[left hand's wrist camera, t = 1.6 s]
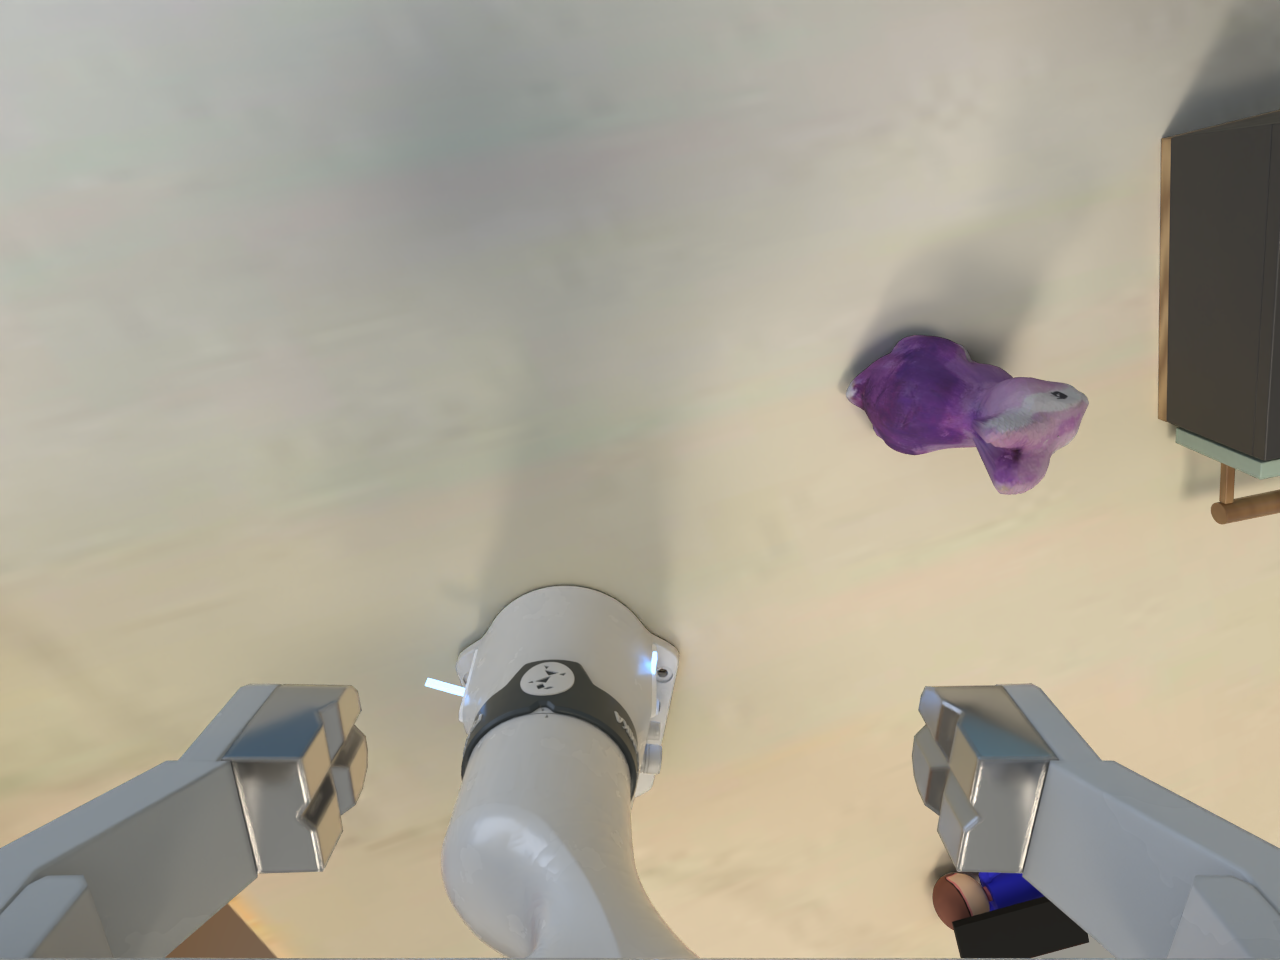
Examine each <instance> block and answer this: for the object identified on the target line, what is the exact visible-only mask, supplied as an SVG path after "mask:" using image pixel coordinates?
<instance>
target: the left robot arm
mask: <svg viewBox="0 0 1280 960" xmlns="http://www.w3.org/2000/svg"><path fill="white" fill-rule="evenodd" d="M678 665H679V653H678V651H677V649H676V648H675V647H674V646H673V645H671V644H670V643H668V642H666V641H665V640H663V639H661V638H659V637H657V636H655V635H653V634H651V633H650V632H649V631H648V630H647V629H646V628H645V627H644V626H643V624H642V623H641V622H640V621H639V619H638V618H637V617H636V616H635V615H634V614H633V613H632V612H631V611H630V610H629V609H628V608H627V607H626V606H624V605H623V604H622V603H620V602H619V601H617V600H616V599H614V598H612V597H610V596H608V595H606V594H604V593H601V592H599V591H596V590H592V589H589V588H584V587H577V586H553V587H546V588H542V589H538V590H535V591H532V592H529V593H527V594H525V595H523V596H521V597H519V598H517V599H516V600H514V601H513V602H511V603H510V604H509V605H507V606H506V607H505V608H504V609H503V610H502V611H501V612H500V613H499V614H498V615H497V617H496V618H495V619H494V621H493V622H492V624H491V626H490V627H489V629H488V630H487V632H486V633H485V635H484V636H483V637H482V638H481V639H480V640H478V641H476V642H475V643H473V644H472V645H470V646H469V647H467V648H466V649H464V650H463V651H462V652H461V653H460V654H459V656H458V659H457V663H456V670H457V673H458V676H459V679H460V681H461V684H462V687H463V688H462V687H459V686H455V685H452V684H448V683H445V682H441V681H438V680H434V679H430V678H428V679H427V681H426V684H425V686H428V687H431V688H435V689H438V690H442V691H446V692H449V693H453V694H456V695H460V696H463V699H462V703H461V706H460V711H459V721H460V722H462V723H464V727H465V731H466V733H467V735H468V736H467V740H466V743H465V747H464V752H463V761H462V769H461V776H462V783H461V787H460V790H459V793H458V796H457V799H456V803H455V806H454V809H453V813H452V816H451V819H450V822H449V826H448V829H447V832H446V835H445V839H444V842H443V846H442V853H441V871H442V878H443V883H444V886H445V890H446V893H447V895H448V897H449V900H450V902H451V904H452V905H453V907H454V909H455V910H456V912H457V913H458V915H459V916H460V918H461V919H462V920H463V922H464V923H465V924H466V926H467V927H468V928H469V929H470V931H471V932H472V933H473V934H474V935H475V936H476V937H477V938H478V939H479V940H481V941H482V942H483V943H485V944H486V945H487V946H489V947H490V948H492V949H493V950H495V951H497V952H498V953H500V954H501V955H503V956H504V957H506V958H165V957H166V956H167V955H168V954H169V953H171V952H172V951H173V950H174V949H175V948H176V947H177V946H179V945H180V944H181V943H182V942H183V941H184V940H185V939H187V938H188V937H189V936H190V935H191V934H192V933H194V932H195V931H196V930H197V929H198V928H199V927H200V926H202V925H203V924H204V923H205V922H206V921H207V920H209V919H210V918H211V917H212V916H213V915H214V914H216V913H217V912H218V911H219V910H220V909H221V908H222V907H224V906H225V905H226V904H227V903H228V902H229V901H231V900H232V899H233V898H234V897H235V896H236V895H237V894H239V893H240V892H241V891H242V890H243V889H244V888H246V887H247V886H248V885H249V884H250V883H251V882H252V881H254V880H255V879H256V878H257V876H258V875H257V873H287V872H321V871H324V869H325V867H326V865H327V862H328V860H329V858H330V856H331V854H332V852H333V850H334V848H335V846H336V844H337V842H338V840H339V838H340V836H341V834H342V832H343V828H342V822H341V815H342V814H344V813H345V812H346V811H348V810H349V809H351V808H352V807H353V806H355V805H356V802H357V800H358V798H359V796H360V794H361V791H362V789H363V785H364V781H365V776H366V772H367V766H368V749H367V742H366V736H365V735H364V734H363V733H362V732H361V731H360V730H359V729H358V728H357V727H356V726H355V725H354V723H355V721H356V720H357V718H358V716H359V714H360V712H361V705H360V700H359V695H358V691H357V690H356V689H355V688H354V687H353V686H352V685H308V684H283V685H281V684H248V685H246V686H243V687H240V688H239V690H238V691H237V692H236V693H235V694H234V695H233V697H232V698H231V699H230V700H229V701H228V702H227V704H226V705H225V706H224V707H223V708H222V709H221V711H220V712H219V713H218V714H217V715H216V717H215V718H214V719H213V720H212V721H211V722H210V724H209V725H208V726H207V727H206V728H205V729H204V731H203V732H202V733H201V734H200V735H199V737H198V738H197V739H196V740H195V741H194V742H193V744H192V745H191V746H190V747H189V748H188V749H187V751H186V752H185V753H184V754H183V755H182V757H181V758H180V759H179V760H178V761H165V762H163V763H161V764H159V765H158V766H156V767H154V768H152V769H150V770H148V771H146V772H144V773H142V774H140V775H139V776H137V777H135V778H133V779H131V780H129V781H127V782H125V783H123V784H121V785H120V786H118V787H116V788H114V789H112V790H110V791H108V792H106V793H104V794H102V795H101V796H99V797H97V798H95V799H93V800H91V801H89V802H87V803H85V804H83V805H82V806H80V807H78V808H76V809H74V810H72V811H70V812H68V813H66V814H64V815H63V816H61V817H59V818H57V819H55V820H53V821H51V822H49V823H47V824H45V825H44V826H42V827H40V828H38V829H36V830H34V831H32V832H30V833H28V834H26V835H25V836H23V837H21V838H19V839H17V840H15V841H13V842H11V843H9V844H7V845H6V846H4V847H2V848H0V960H1280V848H1278V847H1276V846H1274V845H1272V844H1270V843H1268V842H1266V841H1264V840H1263V839H1261V838H1259V837H1257V836H1255V835H1253V834H1251V833H1249V832H1247V831H1246V830H1244V829H1242V828H1240V827H1238V826H1236V825H1234V824H1232V823H1230V822H1228V821H1227V820H1225V819H1223V818H1221V817H1219V816H1217V815H1215V814H1213V813H1211V812H1210V811H1208V810H1206V809H1204V808H1202V807H1200V806H1198V805H1196V804H1194V803H1193V802H1191V801H1189V800H1187V799H1185V798H1183V797H1181V796H1179V795H1177V794H1175V793H1174V792H1172V791H1170V790H1168V789H1166V788H1164V787H1162V786H1160V785H1158V784H1157V783H1155V782H1153V781H1151V780H1149V779H1147V778H1145V777H1143V776H1141V775H1139V774H1138V773H1136V772H1134V771H1132V770H1130V769H1128V768H1126V767H1124V766H1122V765H1121V764H1119V763H1117V762H1115V761H1102V760H1101V759H1100V758H1099V757H1098V755H1097V754H1096V753H1095V752H1094V751H1093V749H1092V748H1091V747H1090V746H1089V745H1088V744H1087V742H1086V741H1085V740H1084V739H1083V738H1082V737H1081V735H1080V734H1079V733H1078V732H1077V731H1076V730H1075V728H1074V727H1073V726H1072V725H1071V724H1070V722H1069V721H1068V720H1067V719H1066V718H1065V717H1064V715H1063V714H1062V713H1061V712H1060V711H1059V710H1058V708H1057V707H1056V706H1055V705H1054V704H1053V703H1052V701H1051V700H1050V699H1049V698H1048V697H1047V695H1046V694H1045V693H1044V692H1043V691H1042V690H1041V688H1039V687H1037V686H1035V685H1033V684H1031V683H1029V684H996V685H995V686H925V688H924V690H923V692H922V694H921V698H920V704H919V712H920V714H921V716H922V718H923V720H924V721H925V723H926V725H925V726H924V727H923V728H922V729H921V730H920V731H919V732H918V733H917V734H916V735H915V736H914V743H913V751H912V762H913V773H914V778H915V782H916V785H917V789H918V792H919V794H920V796H921V798H922V800H923V802H924V805H925V806H927V807H928V808H930V809H931V810H932V811H934V812H935V813H936V814H938V815H939V822H938V828H937V832H938V834H939V836H940V838H941V840H942V842H943V844H944V846H945V848H946V850H947V852H948V854H949V856H950V858H951V860H952V862H953V864H954V866H955V868H956V871H957V872H992V873H1023V875H1022V877H1023V878H1024V879H1026V880H1027V881H1028V882H1029V883H1030V884H1031V885H1033V886H1034V887H1035V888H1036V889H1037V890H1038V891H1039V892H1041V893H1042V894H1043V895H1044V896H1045V897H1046V898H1048V899H1049V900H1050V901H1051V902H1052V903H1053V904H1054V905H1056V906H1057V907H1058V908H1059V909H1060V910H1061V911H1062V912H1064V913H1065V914H1066V915H1067V916H1068V917H1069V918H1071V919H1072V920H1073V921H1074V922H1075V923H1076V924H1077V925H1079V926H1080V927H1081V928H1082V929H1083V930H1084V931H1086V932H1087V933H1088V934H1089V935H1090V936H1091V937H1092V938H1094V939H1095V940H1096V941H1097V942H1098V943H1099V944H1100V945H1102V946H1103V947H1104V948H1105V949H1106V950H1107V951H1109V952H1110V953H1111V954H1112V955H1113V956H1114V957H1115V958H700V957H698V956H697V955H696V954H695V953H694V952H693V951H692V950H691V949H689V948H688V947H687V946H686V945H685V944H684V943H683V942H682V941H681V939H680V938H679V937H678V936H677V935H676V934H675V933H674V932H673V931H672V930H671V928H670V927H669V926H668V925H667V924H666V922H665V921H664V920H663V919H662V917H661V916H660V914H659V913H658V911H657V910H656V909H655V907H654V906H653V904H652V903H651V901H650V899H649V897H648V896H647V894H646V892H645V890H644V888H643V886H642V884H641V882H640V879H639V876H638V873H637V870H636V866H635V860H634V852H633V843H632V830H631V809H632V806H633V802H634V798H636V797H638V796H640V795H642V794H644V793H646V792H647V791H649V790H650V789H651V788H652V785H653V782H654V778H655V775H657V774H659V773H660V769H661V760H662V746H661V745H662V740H663V736H664V731H665V726H666V721H667V717H668V712H669V707H670V703H671V698H672V693H673V689H674V684H675V679H676V674H677V670H678ZM660 669H666V670H667V671H665V672H659V670H660Z"/></svg>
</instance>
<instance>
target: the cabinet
mask: <svg viewBox="0 0 1280 960" xmlns="http://www.w3.org/2000/svg"><path fill="white" fill-rule="evenodd" d="M1158 419H1161V420H1163V421H1166V422H1169V423H1172V424H1174V425H1177V426H1179V427H1181V428H1184V429H1186V430H1189V431H1191V432H1194V433H1196V434H1199V435H1201V436H1204V437H1206V438H1209V439H1211V440H1214V441H1216V442H1219V443H1221V444H1223V445H1226V446H1228V447H1231V448H1233V449H1236V450H1238V451H1241V452H1243V453H1246V454H1248V455H1251V456H1254V457H1256V458H1259V459H1261V460H1264V461H1267V460H1271V459H1276V458H1280V110H1276V111H1272V112H1268V113H1264V114H1260V115H1256V116H1252V117H1248V118H1244V119H1240V120H1235V121H1231V122H1227V123H1223V124H1219V125H1215V126H1211V127H1207V128H1203V129H1199V130H1195V131H1191V132H1187V133H1183V134H1179V135H1174V136H1170V137H1166V138H1162V146H1161V232H1160V318H1159V404H1158Z"/></svg>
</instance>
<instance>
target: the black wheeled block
mask: <svg viewBox="0 0 1280 960" xmlns="http://www.w3.org/2000/svg"><path fill="white" fill-rule="evenodd" d="M1022 875H1023V873H992V872H979V878H980V882H981V885H982V887H981V885H980V884H979V883H978V882H977V881H976V880H974V879H973V878H972V877H970V876H968V875H966V874H963V873H957V872H953V873H948V874H945V875H944V876H942V877H941V878H940V879H939V880H938V881H937V882H936V884H935V886H934V890H933V904H934V907H935V910H936V912H937V914H938V916H939V917H940V919H941V920H942V921H943V922H944V923H945V924H946V925H947V926H948V927H949V928H951V929H953V930H954V933H955V937H956V941H957V945H958V949H959V953H960V957H961V958H1033V957H1036V956H1040V955H1044V954H1048V953H1051V952H1055V951H1059V950H1062V949H1066V948H1070V947H1073V946H1077V945H1081V944H1084V943H1088V942H1089V939H1088V933H1087V932H1086V931H1084V930H1083V929H1082V928H1081V927H1080V926H1079V925H1077V924H1076V923H1075V922H1074V921H1073V920H1072V919H1071V918H1069V917H1068V916H1067V915H1066V914H1065V913H1064V912H1062V911H1061V910H1060V909H1059V908H1058V907H1057V906H1056V905H1054V904H1053V903H1052V902H1051V901H1050V900H1049V899H1048V898H1046V897H1045V896H1044V895H1043V894H1042V893H1041V892H1039V891H1038V890H1037V889H1036V888H1035V887H1034V886H1033V885H1031V884H1030V883H1029V882H1028V881H1027V880H1026V879H1024V878H1023V877H1022Z"/></svg>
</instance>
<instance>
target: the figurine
mask: <svg viewBox="0 0 1280 960" xmlns="http://www.w3.org/2000/svg"><path fill="white" fill-rule="evenodd" d="M846 397H847V399H848V400H849V401H850V402H851V403H853V404H854V405H856V406H858V407H860V408H862V409H863V410H864V411H865V412H866V414H867V416H868V418H869V419H870V421H871V423H872V424H873V429H874V431H875V432H876V434H877V436H879V437H880V438H882V439H883V440H884V441H885V443H886V444H887V445H888V446H889V447H891V448H892V449H894V450H896V451H898V452H901V453H904V454H910V455H919V454H924V453H928V452H932V451H936V450H940V449H947V448H960V447H977V450H978V452H979V454H980V456H981V458H982V461H983V463H984V465H985V467H986V469H987V472H988V474H989V476H990V478H991V480H992V483H993V485H994V486H995V488H996V489H997V491H998V492H999V493H1000V494H1018V493H1020V494H1021V493H1024V492H1026V491H1027V490H1029V489H1032V488H1033V487H1034V486H1035V485H1037V484H1038V483H1039V482H1040V481H1041V480H1042V478H1043V477H1044V476H1045V474H1046V471H1047V468H1048V466H1049V461H1050V457H1051V455H1052V454H1053V453H1055V451H1056V450H1058V449H1060V448H1062V447H1064V446H1066V445H1067V444H1069V443H1070V442H1071V441H1072V440H1073V438H1074V437H1075V435H1076V434H1077V432H1078V429H1079V426H1080V423H1081V420H1082V417H1083V415H1084V413H1085V411H1086V409H1087V407H1088V404H1089V402H1088V399H1087V397H1086V396H1085V395H1084V394H1083V393H1081V392H1079V391H1078V390H1076V389H1075V388H1074V387H1073V386H1071V385H1069V384H1065V383H1058V382H1050V381H1044V380H1039V379H1035V378H1027V377H1017V378H1013V377H1012V376H1011V375H1009V374H1008V373H1007V372H1006V371H1004V370H1003V369H1001V368H999V367H996V366H993V365H989V364H981V363H978V362H975V361H973V360H971V358H970V355H969V353H968V351H967V350H966V349H965V348H964V347H963V346H962V345H960V344H957V343H954V342H952V341H951V340H948V339H945V338H940V337H935V336H924V335H912V336H909V337H905V338H903V339H902V340H900V341H899V342H898V343H897V344H896V346H895V347H894V348H893V350H892V352H891V353H889V354H887V355H885V356H883V357H881V358H880V359H878V360H876V361H875V362H873V363H872V364H871V365H870V366H869V367H868V368H866V369H865V370H864V371H863V372H861V373H860V374H859V375H858V376H857V377H856V378H855V379H854V380H853V381H852V382H851V384H850V385H849V387H848V389H847V392H846Z"/></svg>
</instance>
